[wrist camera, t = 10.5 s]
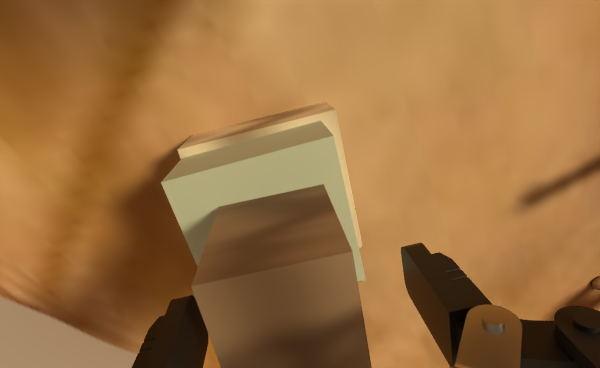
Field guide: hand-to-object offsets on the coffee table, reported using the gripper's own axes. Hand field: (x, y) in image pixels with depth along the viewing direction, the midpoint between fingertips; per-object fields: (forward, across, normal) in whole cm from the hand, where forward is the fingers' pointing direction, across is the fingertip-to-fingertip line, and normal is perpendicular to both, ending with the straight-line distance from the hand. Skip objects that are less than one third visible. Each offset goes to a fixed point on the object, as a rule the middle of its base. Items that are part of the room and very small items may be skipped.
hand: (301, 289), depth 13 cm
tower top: (+8, +1, 0) cm, 8 cm away
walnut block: (+4, +1, 0) cm, 4 cm away
